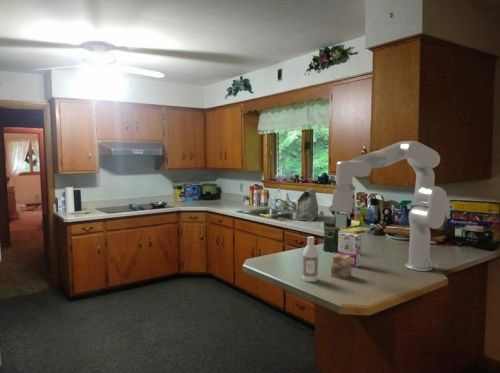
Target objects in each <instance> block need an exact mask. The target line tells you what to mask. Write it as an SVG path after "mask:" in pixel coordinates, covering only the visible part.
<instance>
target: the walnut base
mask: <svg viewBox="0 0 500 373" xmlns="http://www.w3.org/2000/svg"><path fill="white" fill-rule="evenodd" d="M330 271H331V272H330V277H332V278H336V279H340V280H344V281H345V280H347V279H349V278H351V277H352V267H351V266H349V267H348V268H346V269H342V268H337V267H333V265H331V268H330Z"/></svg>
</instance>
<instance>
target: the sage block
mask: <svg viewBox="0 0 500 373" xmlns="http://www.w3.org/2000/svg"><path fill="white" fill-rule="evenodd" d="M347 219H348V216H347V213H346V212H340V213H339V214H336V226H335V227H340V229H341V228H342V229H347V228H349V227H347Z"/></svg>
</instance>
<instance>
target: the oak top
mask: <svg viewBox="0 0 500 373" xmlns="http://www.w3.org/2000/svg"><path fill="white" fill-rule="evenodd" d="M332 266H333V267H337V268H342V269H346V268H348V267H349V266H350V256H349V255H343V254H338V253H337V254H334V255H333V256H332Z"/></svg>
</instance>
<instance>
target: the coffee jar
mask: <svg viewBox="0 0 500 373" xmlns="http://www.w3.org/2000/svg"><path fill="white" fill-rule="evenodd" d="M322 227H323V231H324V232H323V235H324V236H323V244H322V245H323V246H322V249H323V251H324V252H329V253H331V252H332V253H338V233H340V232H339V231H340V229H341V228H340V227H335V219H326V220H324V221H323V226H322Z"/></svg>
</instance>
